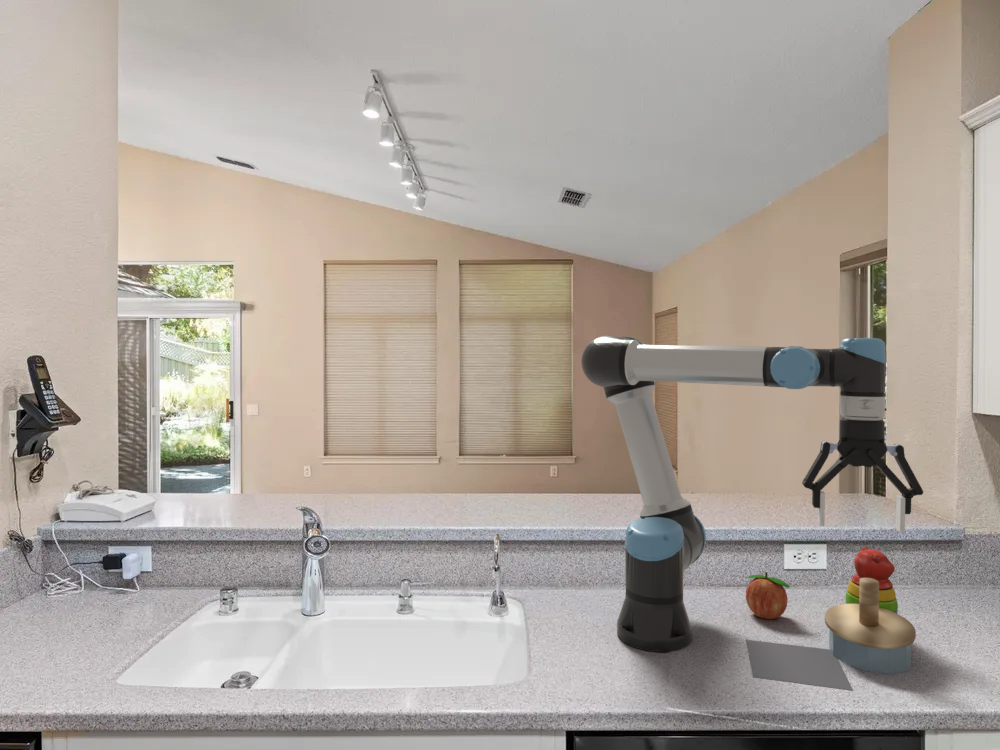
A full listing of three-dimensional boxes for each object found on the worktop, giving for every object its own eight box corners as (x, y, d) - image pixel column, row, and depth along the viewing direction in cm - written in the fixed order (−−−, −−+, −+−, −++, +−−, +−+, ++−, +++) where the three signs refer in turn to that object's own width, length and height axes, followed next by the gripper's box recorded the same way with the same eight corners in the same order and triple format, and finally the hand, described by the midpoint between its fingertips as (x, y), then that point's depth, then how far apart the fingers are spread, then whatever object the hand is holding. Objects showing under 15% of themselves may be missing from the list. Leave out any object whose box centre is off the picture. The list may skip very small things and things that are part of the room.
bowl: (838, 668, 116) (838, 641, 115) (824, 639, 128) (824, 614, 128) (920, 679, 112) (920, 651, 112) (897, 647, 124) (897, 622, 124)
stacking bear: (911, 648, 124) (911, 559, 123) (855, 644, 126) (855, 556, 126) (889, 626, 134) (890, 544, 134) (838, 622, 136) (838, 541, 136)
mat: (753, 678, 112) (753, 676, 112) (745, 640, 127) (745, 639, 127) (853, 692, 107) (853, 690, 107) (833, 651, 123) (833, 649, 123)
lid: (832, 643, 115) (832, 596, 114) (819, 604, 129) (819, 561, 128) (926, 653, 110) (928, 604, 109) (902, 611, 125) (903, 567, 123)
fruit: (777, 628, 133) (777, 582, 133) (735, 614, 141) (735, 570, 141) (796, 618, 139) (796, 573, 139) (755, 605, 146) (755, 563, 146)
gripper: (793, 417, 121) (792, 526, 121) (944, 422, 113) (942, 538, 114) (788, 414, 128) (787, 517, 128) (930, 418, 120) (927, 528, 121)
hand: (859, 527), depth 121 cm, fingers open, 13 cm apart
